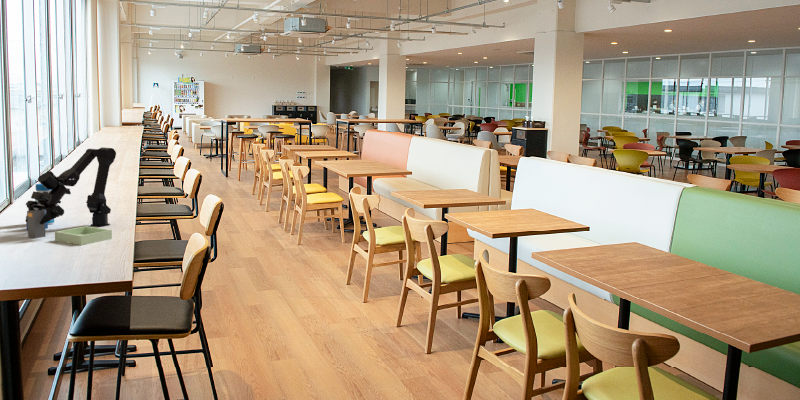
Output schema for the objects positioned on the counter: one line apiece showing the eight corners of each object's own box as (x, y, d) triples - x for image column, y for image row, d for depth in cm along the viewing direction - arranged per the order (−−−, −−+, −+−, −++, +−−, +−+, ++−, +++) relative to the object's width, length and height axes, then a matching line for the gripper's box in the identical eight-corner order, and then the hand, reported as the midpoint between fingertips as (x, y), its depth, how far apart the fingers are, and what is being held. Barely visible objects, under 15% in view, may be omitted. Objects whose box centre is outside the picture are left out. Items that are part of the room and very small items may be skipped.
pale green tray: (86, 234, 279) (86, 226, 278) (111, 238, 273) (111, 230, 272) (55, 240, 264) (54, 231, 263) (81, 245, 258) (80, 236, 257)
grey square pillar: (38, 235, 273) (37, 209, 271) (45, 236, 271) (44, 210, 270) (27, 237, 268) (26, 211, 266) (34, 238, 266) (33, 212, 265)
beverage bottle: (45, 225, 294) (44, 185, 291) (31, 224, 296) (29, 184, 293) (58, 222, 302) (57, 183, 299) (44, 221, 304) (42, 182, 301)
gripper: (28, 183, 274) (6, 209, 265) (57, 186, 267) (35, 214, 258) (45, 198, 282) (23, 224, 273) (73, 201, 275) (52, 229, 266)
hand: (33, 222), depth 268 cm, fingers open, 9 cm apart
